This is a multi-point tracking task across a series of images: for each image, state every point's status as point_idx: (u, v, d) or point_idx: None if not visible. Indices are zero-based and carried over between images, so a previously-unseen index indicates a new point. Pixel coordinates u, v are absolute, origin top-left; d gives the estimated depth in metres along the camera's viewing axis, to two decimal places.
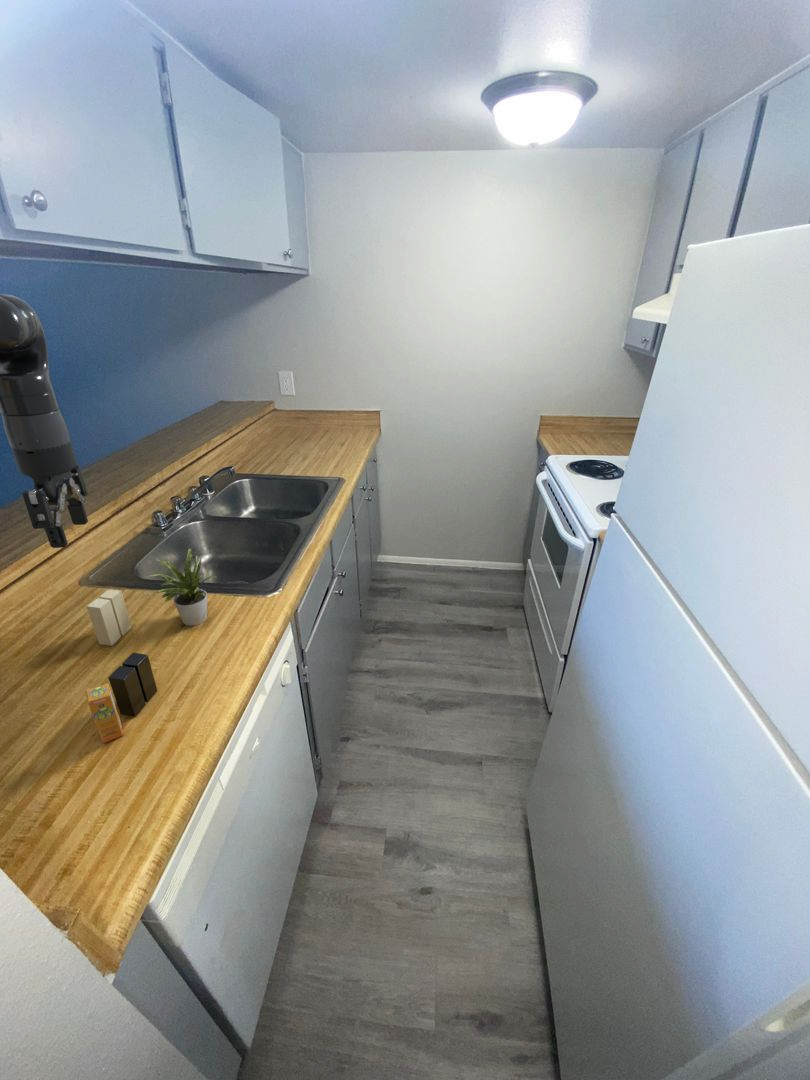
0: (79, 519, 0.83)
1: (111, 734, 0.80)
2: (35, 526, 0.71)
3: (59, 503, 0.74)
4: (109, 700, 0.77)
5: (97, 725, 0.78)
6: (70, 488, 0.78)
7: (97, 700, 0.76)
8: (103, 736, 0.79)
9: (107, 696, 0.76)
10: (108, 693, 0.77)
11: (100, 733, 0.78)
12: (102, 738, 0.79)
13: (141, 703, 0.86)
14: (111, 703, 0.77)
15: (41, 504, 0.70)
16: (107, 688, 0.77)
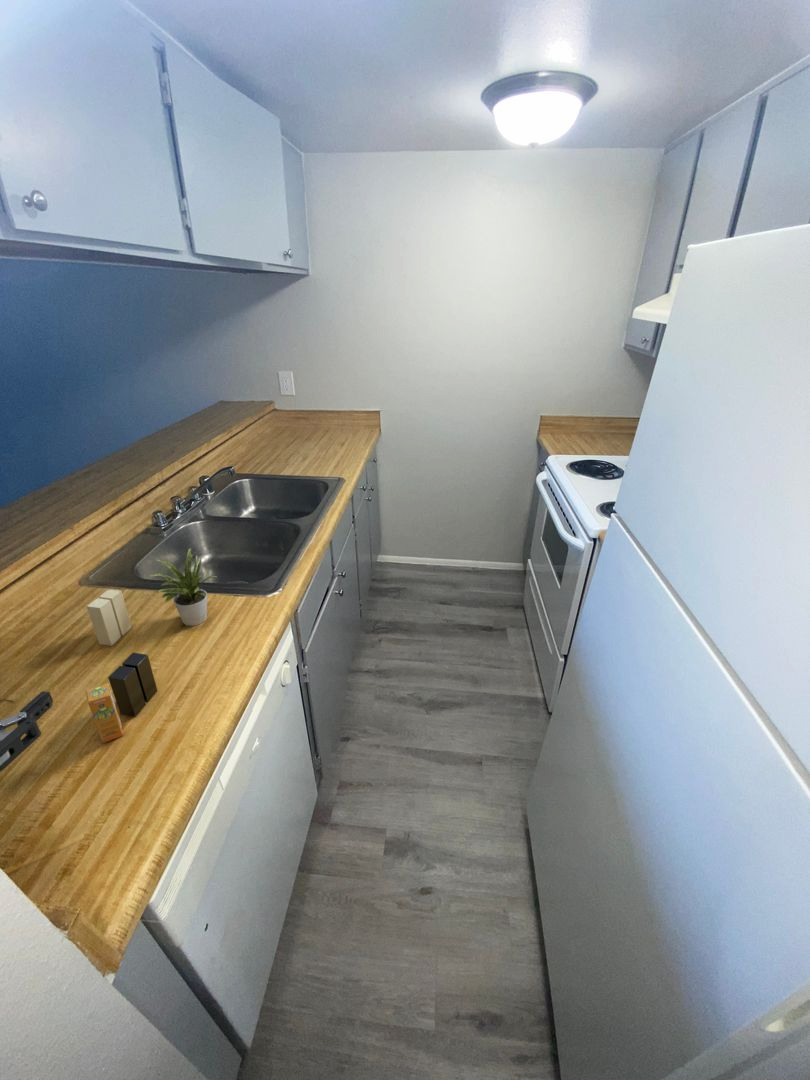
0: None
1: (111, 734, 0.80)
2: None
3: None
4: (109, 700, 0.77)
5: (97, 725, 0.78)
6: None
7: (97, 700, 0.76)
8: (103, 736, 0.79)
9: (107, 696, 0.76)
10: (108, 693, 0.77)
11: (100, 733, 0.78)
12: (102, 738, 0.79)
13: (141, 703, 0.86)
14: (111, 703, 0.77)
15: None
16: (107, 688, 0.77)
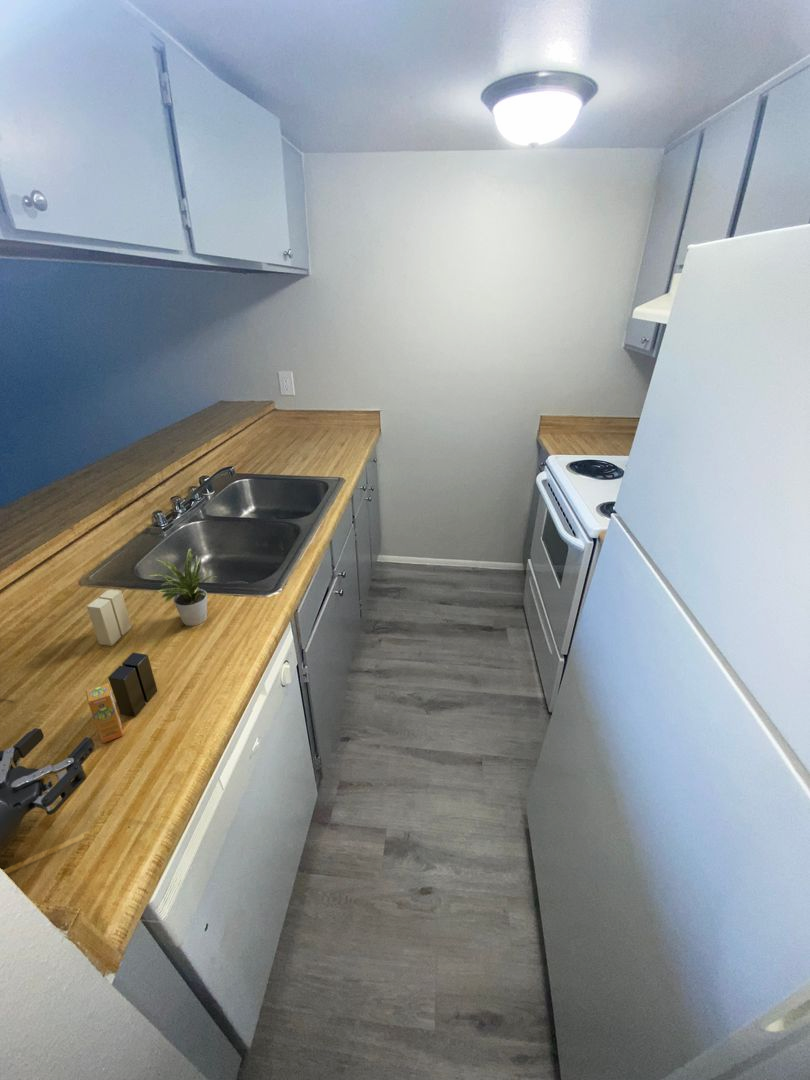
0: None
1: (111, 734, 0.80)
2: None
3: None
4: (109, 700, 0.77)
5: (97, 725, 0.78)
6: None
7: (97, 700, 0.76)
8: (103, 736, 0.79)
9: (107, 696, 0.76)
10: (108, 693, 0.77)
11: (100, 733, 0.78)
12: (102, 738, 0.79)
13: (141, 703, 0.86)
14: (111, 703, 0.77)
15: None
16: (107, 688, 0.77)
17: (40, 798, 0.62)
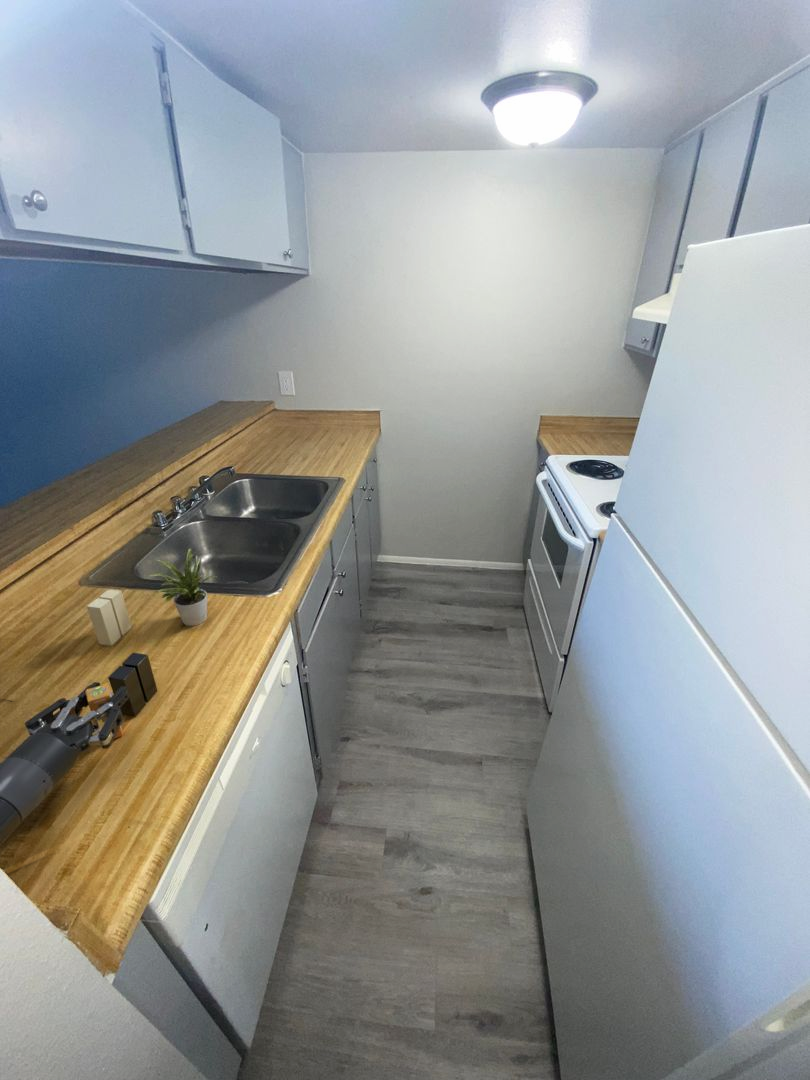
0: None
1: None
2: None
3: None
4: None
5: None
6: None
7: (96, 700, 0.76)
8: None
9: (107, 696, 0.76)
10: (108, 693, 0.77)
11: None
12: None
13: (141, 703, 0.86)
14: None
15: None
16: (107, 688, 0.77)
17: (94, 737, 0.71)
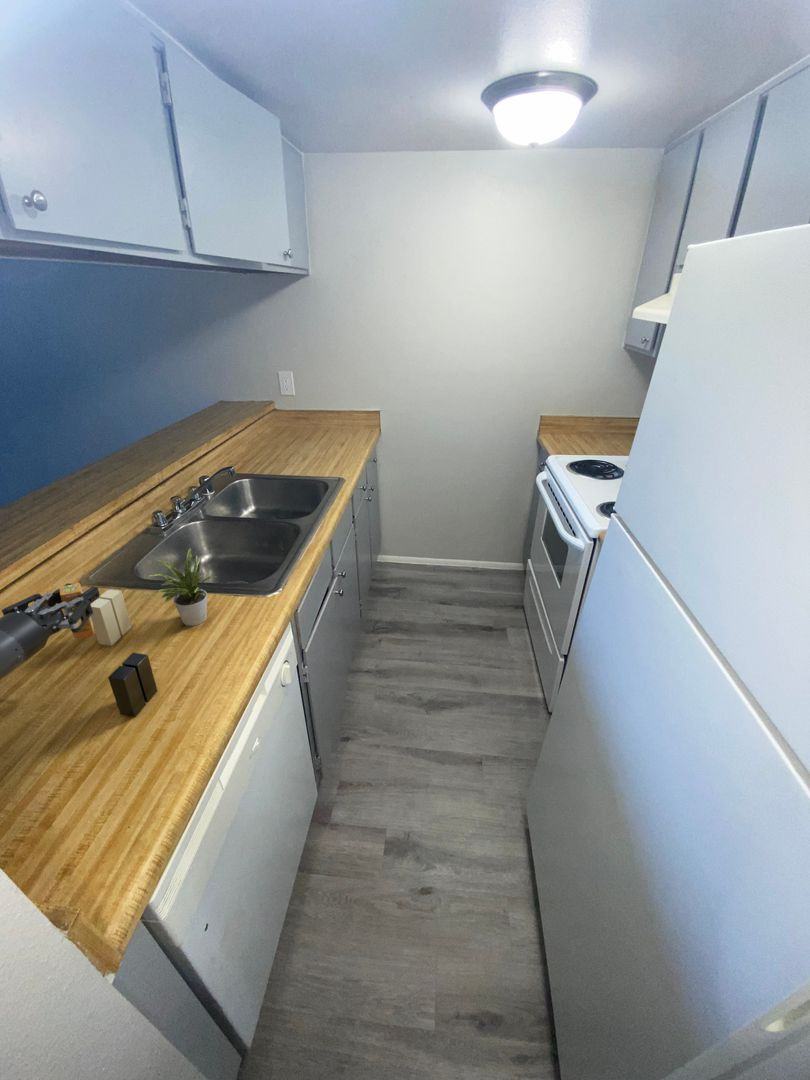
0: None
1: (83, 631, 0.87)
2: None
3: None
4: None
5: None
6: None
7: (68, 595, 0.83)
8: (75, 632, 0.86)
9: (78, 592, 0.83)
10: (79, 589, 0.84)
11: None
12: (74, 634, 0.86)
13: (141, 703, 0.86)
14: None
15: None
16: (78, 586, 0.84)
17: (64, 622, 0.78)
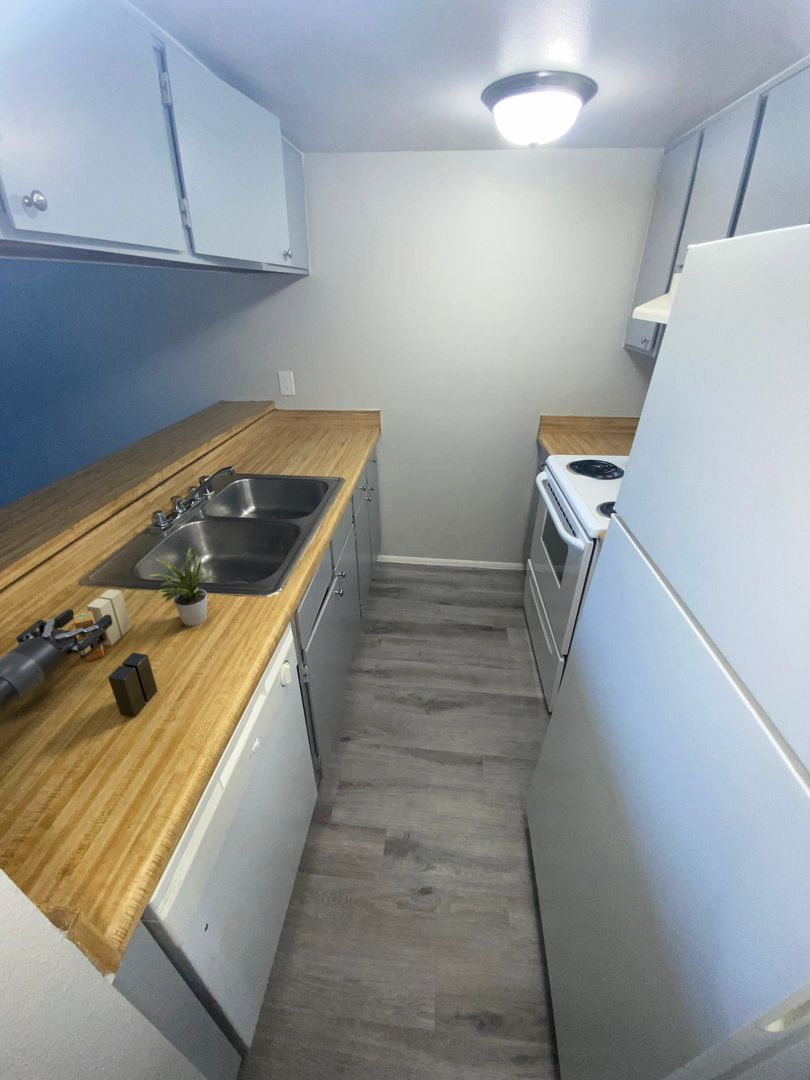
0: None
1: (94, 653, 0.97)
2: None
3: None
4: (92, 623, 0.94)
5: None
6: None
7: (81, 623, 0.93)
8: None
9: (90, 620, 0.93)
10: (91, 617, 0.94)
11: None
12: None
13: (141, 703, 0.86)
14: None
15: None
16: (90, 614, 0.94)
17: (75, 647, 0.87)
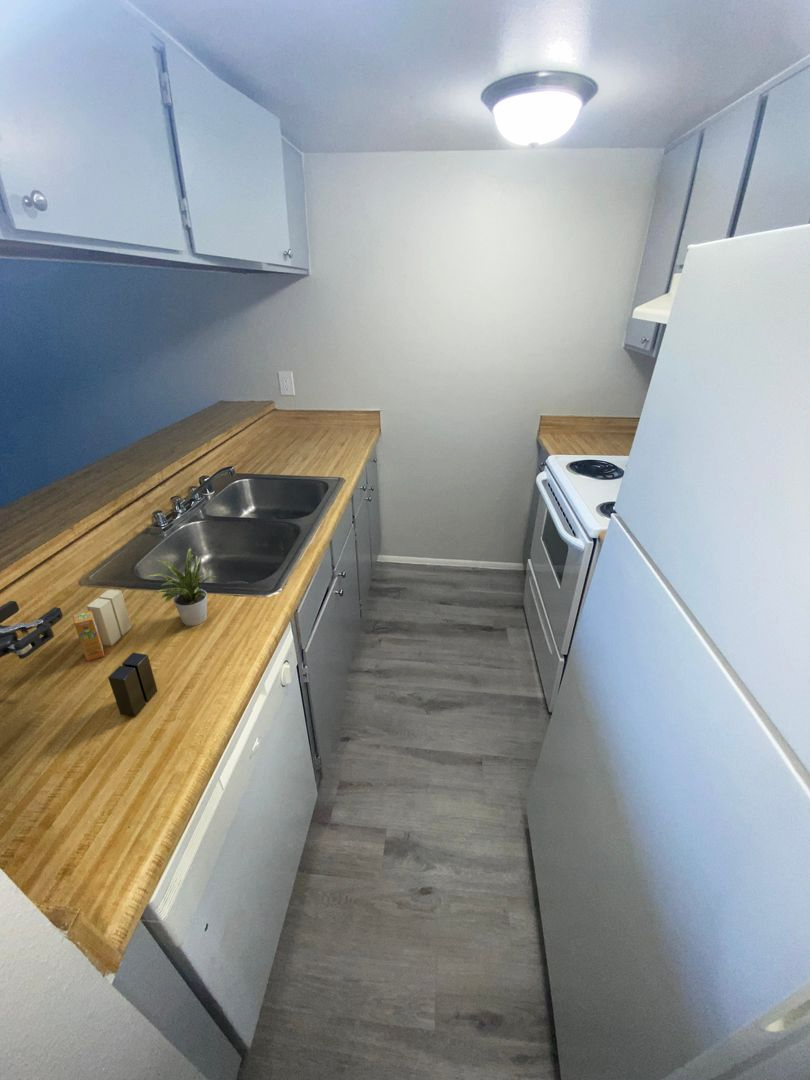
0: None
1: (94, 654, 0.97)
2: None
3: None
4: (92, 623, 0.94)
5: (82, 644, 0.95)
6: None
7: (81, 623, 0.93)
8: (87, 655, 0.96)
9: (90, 620, 0.93)
10: (91, 617, 0.94)
11: (85, 652, 0.96)
12: (86, 656, 0.96)
13: (141, 703, 0.86)
14: (94, 626, 0.94)
15: None
16: (90, 614, 0.94)
17: (13, 645, 0.73)
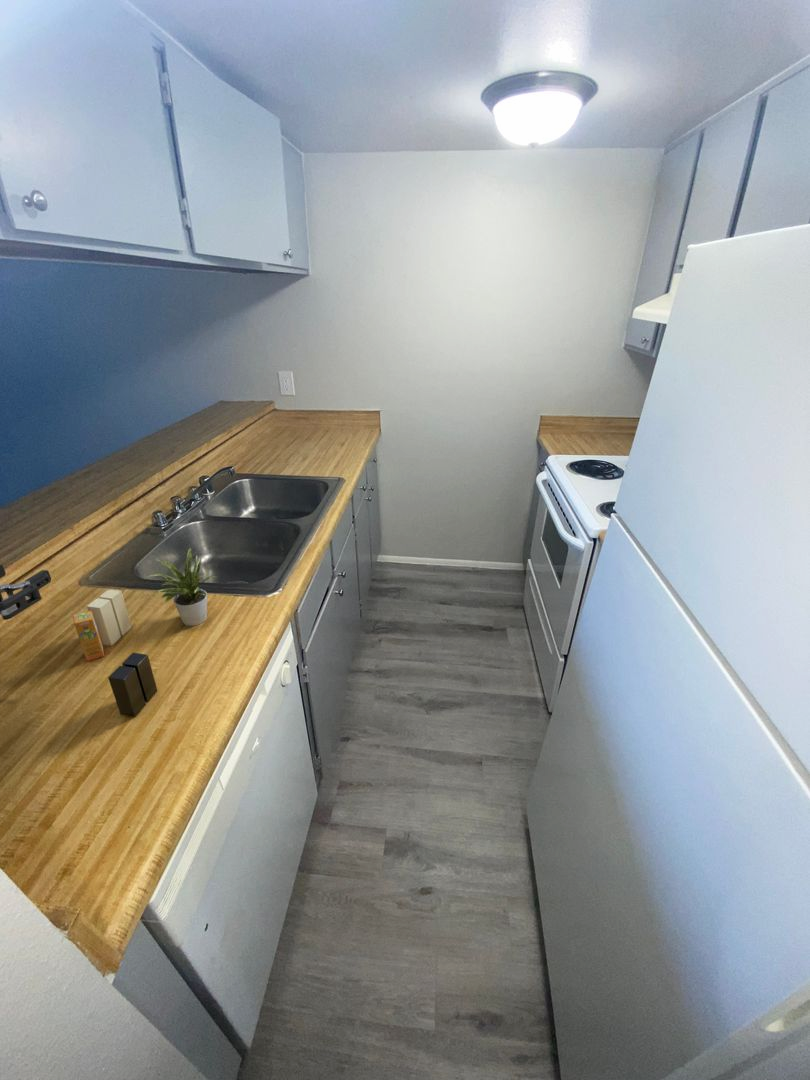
0: None
1: (94, 654, 0.97)
2: None
3: None
4: (92, 623, 0.94)
5: (82, 644, 0.95)
6: None
7: (81, 623, 0.93)
8: (87, 655, 0.96)
9: (90, 620, 0.93)
10: (91, 617, 0.94)
11: (85, 652, 0.96)
12: (86, 656, 0.96)
13: (141, 703, 0.86)
14: (94, 626, 0.94)
15: None
16: (90, 614, 0.94)
17: None
